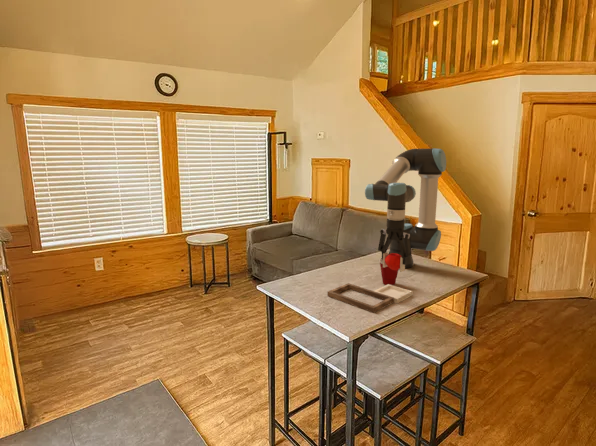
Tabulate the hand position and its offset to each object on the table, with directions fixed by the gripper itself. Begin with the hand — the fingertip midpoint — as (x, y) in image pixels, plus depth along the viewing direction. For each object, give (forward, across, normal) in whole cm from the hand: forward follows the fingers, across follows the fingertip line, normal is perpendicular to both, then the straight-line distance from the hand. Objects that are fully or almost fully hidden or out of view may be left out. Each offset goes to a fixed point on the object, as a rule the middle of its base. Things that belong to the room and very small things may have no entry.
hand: (393, 268), depth 167 cm
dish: (+13, 0, 0) cm, 13 cm away
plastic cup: (+13, -9, +12) cm, 19 cm away
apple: (0, 0, 0) cm, 0 cm away
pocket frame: (+13, -8, -13) cm, 20 cm away
